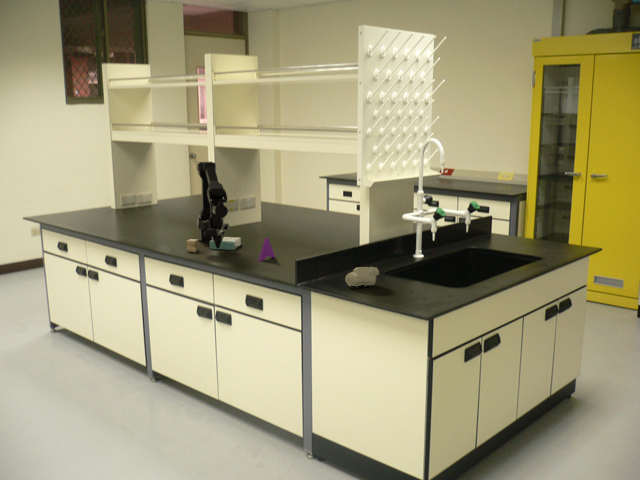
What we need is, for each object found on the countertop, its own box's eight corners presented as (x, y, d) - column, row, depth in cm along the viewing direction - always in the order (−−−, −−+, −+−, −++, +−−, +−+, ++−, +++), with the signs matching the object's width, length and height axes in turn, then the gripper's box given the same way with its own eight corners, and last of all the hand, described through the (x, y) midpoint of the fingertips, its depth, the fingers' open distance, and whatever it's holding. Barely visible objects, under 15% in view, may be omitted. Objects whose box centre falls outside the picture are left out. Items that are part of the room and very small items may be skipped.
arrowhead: (265, 268, 266) (276, 250, 270) (268, 269, 265) (279, 251, 269) (254, 256, 259) (265, 237, 263) (256, 256, 258) (268, 237, 262)
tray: (216, 244, 295) (216, 237, 294) (239, 245, 293) (239, 238, 292) (209, 248, 285) (209, 242, 284) (233, 249, 283) (233, 243, 283)
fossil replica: (340, 286, 225) (357, 294, 217) (340, 265, 222) (357, 273, 215) (365, 278, 232) (382, 286, 224) (365, 258, 229) (383, 265, 221)
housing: (217, 243, 296) (216, 236, 295) (240, 244, 294) (240, 237, 293) (210, 248, 286) (210, 240, 286) (234, 249, 284) (234, 241, 284)
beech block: (190, 249, 283) (189, 239, 282) (198, 249, 282) (198, 239, 281) (187, 251, 279) (186, 240, 278) (195, 251, 278) (194, 241, 277)
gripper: (206, 211, 286) (207, 243, 289) (192, 217, 267) (193, 251, 270) (229, 211, 284) (230, 244, 287) (216, 217, 266) (217, 252, 269)
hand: (217, 247), depth 278 cm, fingers closed
